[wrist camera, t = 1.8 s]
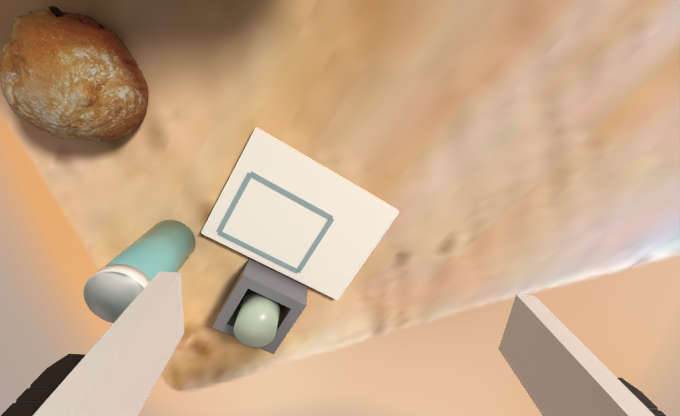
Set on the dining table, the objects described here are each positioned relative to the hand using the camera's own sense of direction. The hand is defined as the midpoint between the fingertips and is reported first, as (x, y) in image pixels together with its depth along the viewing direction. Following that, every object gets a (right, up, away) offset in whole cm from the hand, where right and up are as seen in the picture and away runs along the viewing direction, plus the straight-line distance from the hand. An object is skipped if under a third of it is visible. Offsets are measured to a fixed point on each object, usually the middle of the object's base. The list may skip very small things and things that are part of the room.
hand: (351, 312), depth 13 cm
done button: (-9, -6, +23) cm, 25 cm away
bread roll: (-22, +15, +17) cm, 32 cm away
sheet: (-4, +3, +21) cm, 22 cm away
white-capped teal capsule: (-17, +1, +21) cm, 27 cm away
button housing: (-9, -6, +24) cm, 26 cm away
